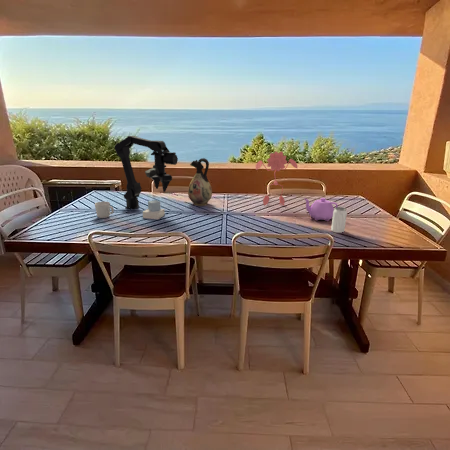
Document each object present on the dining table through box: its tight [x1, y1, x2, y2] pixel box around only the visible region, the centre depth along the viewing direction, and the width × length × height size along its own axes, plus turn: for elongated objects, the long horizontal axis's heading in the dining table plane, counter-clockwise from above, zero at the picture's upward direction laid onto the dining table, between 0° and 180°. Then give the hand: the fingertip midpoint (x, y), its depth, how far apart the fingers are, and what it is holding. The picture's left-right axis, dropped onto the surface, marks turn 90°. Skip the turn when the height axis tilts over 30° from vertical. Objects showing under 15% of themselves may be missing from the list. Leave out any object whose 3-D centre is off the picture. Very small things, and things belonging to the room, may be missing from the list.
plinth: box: [142, 208, 165, 220], centre depth 196 cm, size 9×9×4 cm
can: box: [330, 206, 348, 234], centre depth 176 cm, size 6×6×12 cm
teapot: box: [303, 197, 339, 222], centre depth 196 cm, size 20×14×12 cm
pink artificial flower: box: [255, 150, 298, 211], centre depth 216 cm, size 15×26×35 cm, turn 89°
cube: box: [147, 199, 162, 212], centre depth 195 cm, size 5×5×5 cm
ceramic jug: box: [187, 157, 213, 207], centre depth 219 cm, size 17×15×30 cm
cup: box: [94, 201, 115, 219], centre depth 192 cm, size 11×8×8 cm
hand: (160, 190), depth 203 cm, fingers open, 9 cm apart
